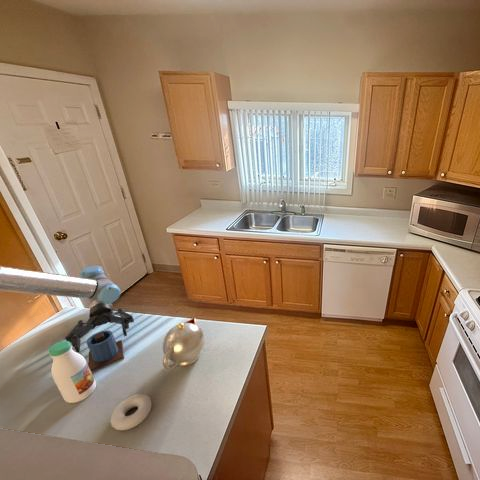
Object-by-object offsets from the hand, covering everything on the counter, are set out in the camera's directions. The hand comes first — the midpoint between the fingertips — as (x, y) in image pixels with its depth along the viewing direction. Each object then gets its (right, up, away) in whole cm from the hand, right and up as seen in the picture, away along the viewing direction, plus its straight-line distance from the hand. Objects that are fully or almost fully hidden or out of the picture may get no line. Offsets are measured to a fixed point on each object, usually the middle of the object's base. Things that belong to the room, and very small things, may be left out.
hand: (101, 341), depth 93 cm
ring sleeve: (0, -5, +2) cm, 5 cm away
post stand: (0, -6, +2) cm, 6 cm away
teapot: (+30, -8, +2) cm, 31 cm away
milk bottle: (+3, -12, -11) cm, 17 cm away
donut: (+24, -16, -16) cm, 33 cm away
